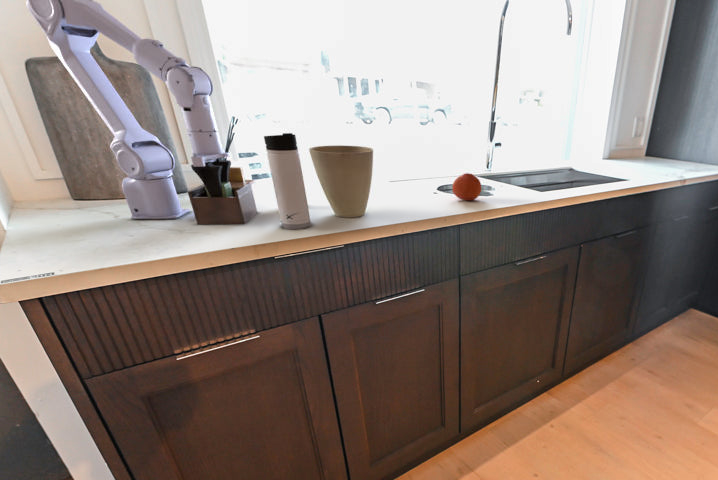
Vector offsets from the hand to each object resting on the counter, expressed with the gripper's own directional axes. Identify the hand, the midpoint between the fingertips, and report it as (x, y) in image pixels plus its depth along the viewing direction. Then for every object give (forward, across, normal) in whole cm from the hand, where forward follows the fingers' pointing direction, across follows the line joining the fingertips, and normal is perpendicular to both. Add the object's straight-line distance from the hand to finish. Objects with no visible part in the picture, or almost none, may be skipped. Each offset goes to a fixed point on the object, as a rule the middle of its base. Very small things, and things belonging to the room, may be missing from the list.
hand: (220, 195), depth 99 cm
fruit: (+6, +22, -62) cm, 65 cm away
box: (+6, +2, 0) cm, 6 cm away
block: (+1, 0, 0) cm, 1 cm away
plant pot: (+6, +4, -28) cm, 29 cm away
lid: (-1, +9, 0) cm, 9 cm away
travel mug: (+6, -7, -17) cm, 19 cm away
